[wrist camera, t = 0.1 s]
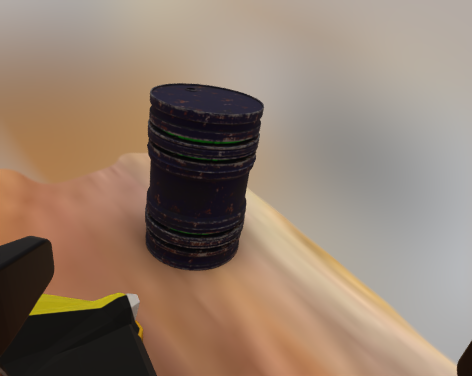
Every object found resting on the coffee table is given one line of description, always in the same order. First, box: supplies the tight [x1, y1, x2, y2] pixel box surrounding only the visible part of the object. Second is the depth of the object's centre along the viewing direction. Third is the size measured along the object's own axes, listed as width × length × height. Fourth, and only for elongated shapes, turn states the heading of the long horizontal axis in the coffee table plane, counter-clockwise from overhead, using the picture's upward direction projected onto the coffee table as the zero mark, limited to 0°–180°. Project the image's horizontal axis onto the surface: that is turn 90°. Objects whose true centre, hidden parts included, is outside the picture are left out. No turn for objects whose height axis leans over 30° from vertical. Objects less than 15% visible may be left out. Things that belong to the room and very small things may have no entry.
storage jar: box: [145, 83, 264, 270], centre depth 33 cm, size 10×10×15 cm
